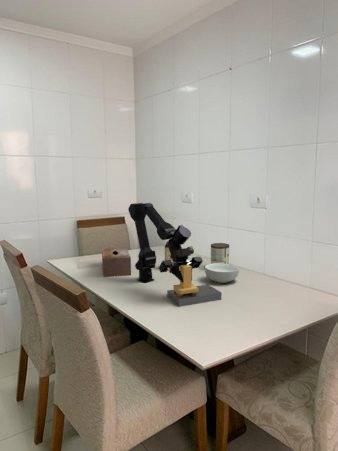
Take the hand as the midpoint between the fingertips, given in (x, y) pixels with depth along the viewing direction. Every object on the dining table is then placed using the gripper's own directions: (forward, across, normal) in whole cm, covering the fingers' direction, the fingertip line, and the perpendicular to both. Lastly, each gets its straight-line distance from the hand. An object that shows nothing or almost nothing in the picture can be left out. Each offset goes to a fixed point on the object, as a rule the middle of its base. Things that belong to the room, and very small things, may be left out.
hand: (187, 281), depth 149 cm
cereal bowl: (-7, +28, +19) cm, 35 cm away
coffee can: (-19, +38, +32) cm, 53 cm away
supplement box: (-28, +15, +40) cm, 51 cm away
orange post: (+4, 0, +6) cm, 7 cm away
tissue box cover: (-36, -15, +49) cm, 62 cm away
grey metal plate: (+5, +4, +7) cm, 9 cm away
